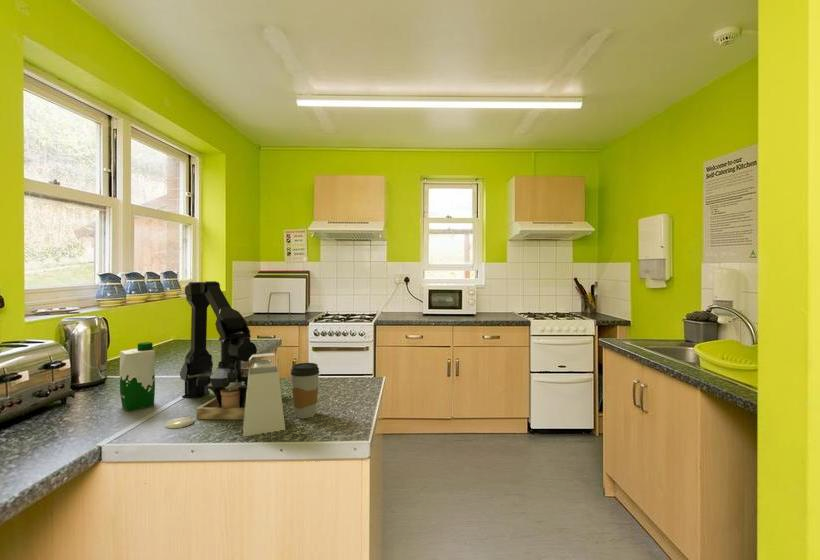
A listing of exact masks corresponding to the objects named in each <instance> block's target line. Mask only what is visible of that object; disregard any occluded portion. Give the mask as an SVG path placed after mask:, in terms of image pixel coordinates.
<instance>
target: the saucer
mask: <svg viewBox="0 0 820 560" xmlns="http://www.w3.org/2000/svg"><path fill="white" fill-rule="evenodd" d="M193 422H194V423H195V418H193V417H190V416H185V417H184V416H183V417H176V418H172V419H170V420H167V421H166V422H165V424H164V425H165V426H164V427H165V428H166V429H181V428H185V426H186V427H189V426H191V425H193V424H194V423H193ZM192 423H193V424H192ZM190 424H191V425H190ZM188 425H189V426H188Z"/></svg>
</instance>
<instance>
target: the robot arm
mask: <svg viewBox="0 0 820 560" xmlns="http://www.w3.org/2000/svg"><path fill="white" fill-rule="evenodd" d="M184 294H185V298H186V301H187V303H188V304H189V306H190V307H191V319H190V320H191V323H190V349H189V350H188V352H187V354H186V355H185V357H184V363H183V365H182V367H181V369H180V372H179V376H180V380H182V381H184V394H182V395H181V397H182V398H193V399H194V398H196V399H198V398H202V397H203V396H206V395H208V394H209V393H210V391H212V393H213V394H214V395H215V397H216V398H217V400H218V403H219V405H220V406H219V408H221V395H220V390H222V389H224V388H225V387H228V386H229V384H230V382H231V383H242V386H240V387H239V388H238V389H239V391H240V402H239V404H240V408H244V406H245V404H244V402H245V400H246V392H247V383H248V376H242V375H243V371H242V368H243V365H242V362H250V361H252V360H253V359H254V358H255V357H253V358H252V359H251V360H250V361H249V358H250V357H251V356H252V355H253V354H258V353H257V352H258V351H257V349H258V348H257V346H256V345H255V343H254V342H253V341H251V330H250V328H249V326H248V324H247V322H246V319H245V318H244V316H243V315H242V314H241V313H240V311H238V310H236V309H234V308H232V306H231V304H230V303H229V301H228V300H227V297H226V296H225V295H224V293H223V290H222V289H221V284H220V282H219V281H215V280H211V281H208V280H207V281H206V280H205V281H204V280H203V281H192V282H191V281H190V282H188V284H187V285H185V286H184ZM209 306H210V308H211V309H212V310H213V313H214V315H215V317H216V320H215V328H216V329H215V330H216V331H217V333H218V335H219V338H218V341H220V361H218V365H217V366H218V367H217V369H216V370H214V372H213V367H214V364H213V356H212V354H210V353H209V351H208V350H207V336H208V335H207V333H208V330H207V329H208V328H207V327H208V308H209Z"/></svg>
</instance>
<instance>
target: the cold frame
mask: <svg viewBox="0 0 820 560" xmlns="http://www.w3.org/2000/svg"><path fill="white" fill-rule="evenodd" d="M250 368H251V367H242V371H243V375H242V376H248V373H249V369H250ZM240 386H242V383H231V382H230V384H229V386H228V387H225V388H229V387H240ZM245 401H246V400H245ZM244 405H245V402H244ZM218 406H219V407H218ZM244 411H245V407H242V408H221V407H220V405H219V403H218V400H217V398H216V396H215V397H213V398H211V399H210V400H208V401H206V402H205V403H203V404H202V405H200V406H198V407H197V408H196V419H197V420H203V419H205V420H244Z"/></svg>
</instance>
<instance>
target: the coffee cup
mask: <svg viewBox="0 0 820 560" xmlns="http://www.w3.org/2000/svg"><path fill="white" fill-rule="evenodd" d="M318 366H319V365H318V363H315V362H302V363H301V362H300V363H299V362H298V363H296V364H293V365H292V366H291V367H292V368H291V369H290V375H291V386H292V388H291V390H292V391H291V392H292V404H293V405H292V406H293V414H294V417H295V418H296V417H297V419H300V418H301V420H302V419H304V420H305V419H311V418H313V417H315V416H314V415H316V413H317V404H318V393H319V387H318V385H319V373H320V368H319V367H318ZM310 417H311V418H310Z"/></svg>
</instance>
